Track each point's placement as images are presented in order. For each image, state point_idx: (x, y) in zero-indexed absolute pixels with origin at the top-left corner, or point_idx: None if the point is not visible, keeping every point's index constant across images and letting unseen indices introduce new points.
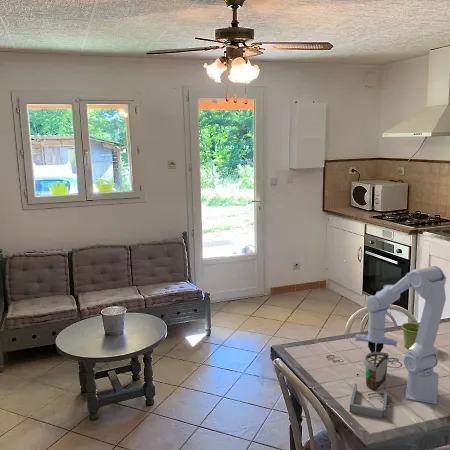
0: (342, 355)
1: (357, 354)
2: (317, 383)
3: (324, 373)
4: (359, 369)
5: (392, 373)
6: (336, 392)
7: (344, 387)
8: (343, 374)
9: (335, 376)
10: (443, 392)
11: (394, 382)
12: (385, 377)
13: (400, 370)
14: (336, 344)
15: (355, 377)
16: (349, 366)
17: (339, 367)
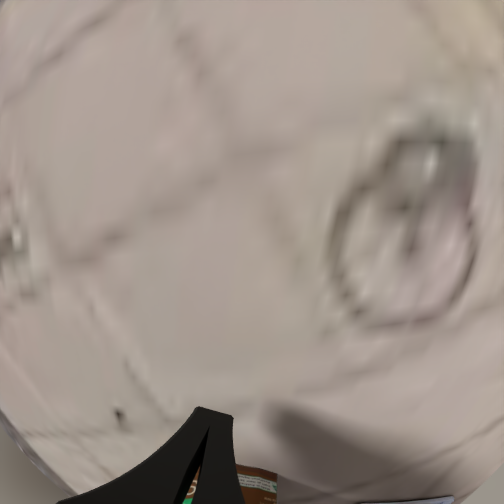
0: (22, 157)
1: (113, 103)
2: (17, 433)
3: (4, 380)
4: (122, 368)
5: (349, 412)
6: (82, 487)
7: (94, 477)
8: (61, 404)
9: (41, 411)
10: (479, 483)
11: (320, 481)
12: (271, 490)
13: (425, 365)
14: (29, 6)
15: (115, 437)
16: (64, 326)
17: (27, 334)
